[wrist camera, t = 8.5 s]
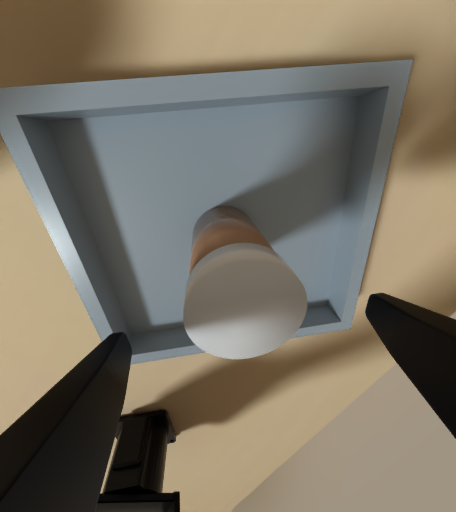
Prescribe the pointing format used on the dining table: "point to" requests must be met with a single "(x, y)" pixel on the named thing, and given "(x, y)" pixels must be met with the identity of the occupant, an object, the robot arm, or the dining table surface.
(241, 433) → the dining table surface
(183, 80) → the tray
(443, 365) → the robot arm
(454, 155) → the dining table surface
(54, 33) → the dining table surface
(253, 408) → the dining table surface
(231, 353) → the shaker
